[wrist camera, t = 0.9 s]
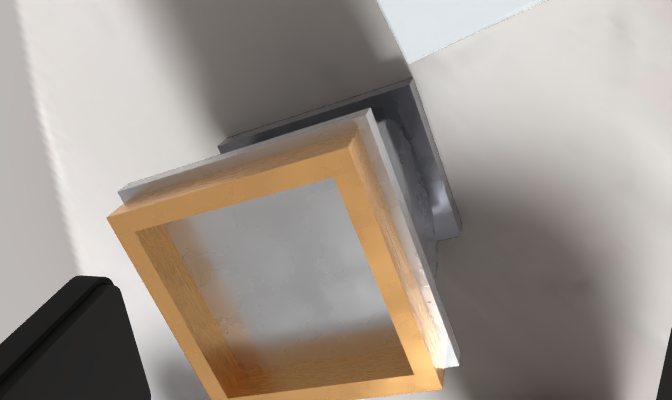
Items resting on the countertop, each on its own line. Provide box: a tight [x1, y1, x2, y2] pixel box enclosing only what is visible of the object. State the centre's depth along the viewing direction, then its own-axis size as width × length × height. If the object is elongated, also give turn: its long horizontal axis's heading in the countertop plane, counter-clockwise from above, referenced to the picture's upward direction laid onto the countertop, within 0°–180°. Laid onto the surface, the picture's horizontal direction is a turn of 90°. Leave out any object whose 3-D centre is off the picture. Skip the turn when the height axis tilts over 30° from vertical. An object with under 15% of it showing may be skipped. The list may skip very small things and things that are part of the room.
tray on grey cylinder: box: [106, 78, 462, 400], centre depth 32 cm, size 14×13×14 cm
